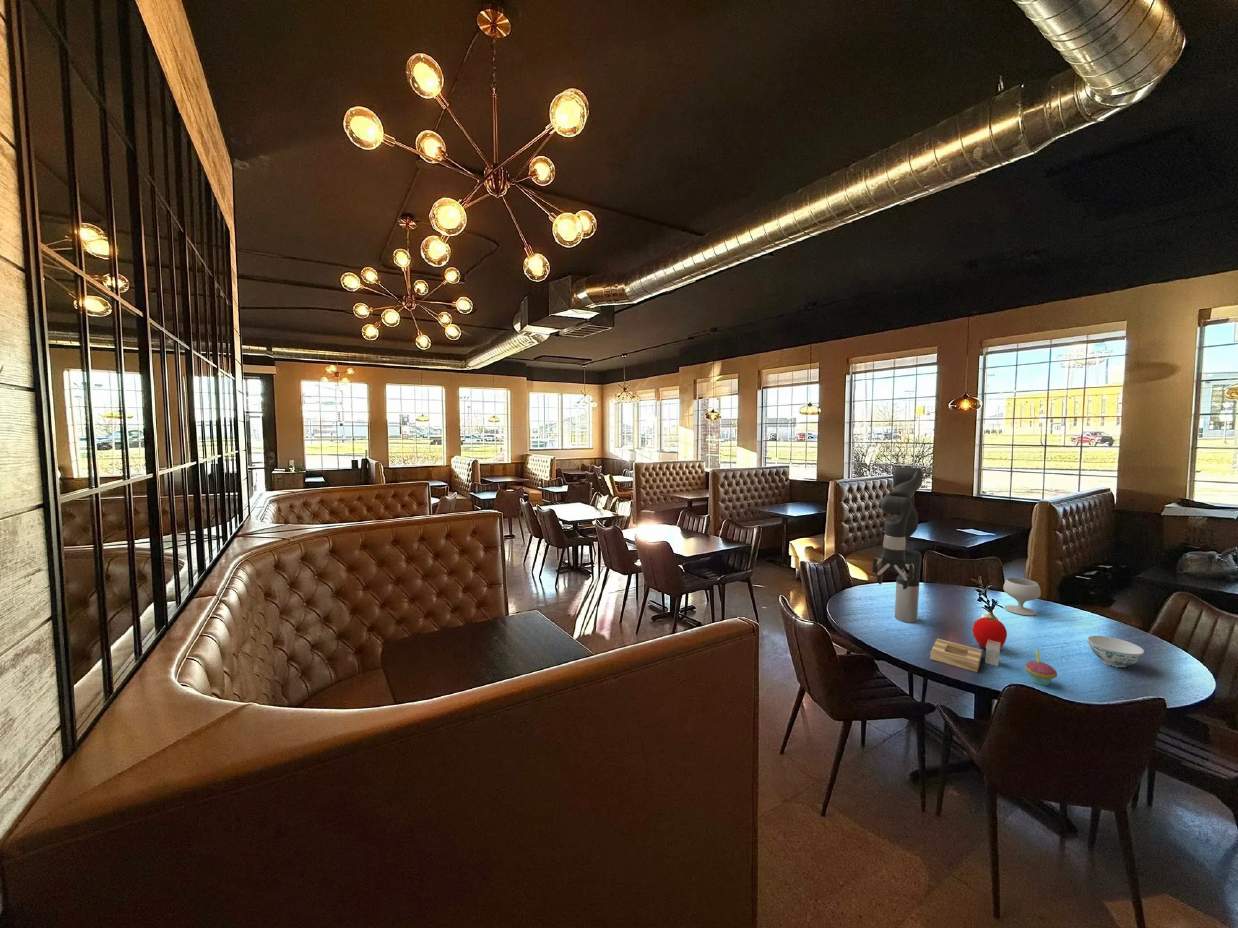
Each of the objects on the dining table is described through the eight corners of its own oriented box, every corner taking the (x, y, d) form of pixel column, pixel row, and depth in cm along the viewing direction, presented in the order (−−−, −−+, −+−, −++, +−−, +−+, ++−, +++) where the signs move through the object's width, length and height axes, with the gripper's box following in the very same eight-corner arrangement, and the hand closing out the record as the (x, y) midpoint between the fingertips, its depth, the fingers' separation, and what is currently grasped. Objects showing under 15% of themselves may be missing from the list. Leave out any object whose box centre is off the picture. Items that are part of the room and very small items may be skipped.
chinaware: (1083, 650, 195) (1085, 632, 194) (1137, 661, 185) (1139, 642, 185) (1088, 664, 183) (1090, 645, 183) (1145, 678, 174) (1148, 658, 173)
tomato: (991, 655, 190) (994, 625, 189) (965, 643, 201) (967, 614, 200) (1012, 652, 193) (1015, 621, 192) (986, 640, 204) (988, 611, 203)
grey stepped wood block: (986, 657, 189) (987, 639, 189) (999, 660, 187) (1000, 642, 186) (984, 664, 184) (986, 645, 183) (997, 667, 181) (999, 648, 181)
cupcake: (1017, 676, 176) (1020, 644, 174) (1039, 675, 176) (1041, 643, 175) (1040, 689, 167) (1043, 656, 166) (1062, 688, 168) (1065, 655, 167)
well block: (936, 645, 200) (937, 638, 199) (981, 657, 190) (982, 649, 189) (930, 658, 188) (930, 651, 188) (977, 672, 178) (977, 664, 178)
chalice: (1035, 609, 236) (1038, 580, 235) (1041, 619, 224) (1044, 588, 223) (1000, 603, 244) (1002, 575, 242) (1003, 613, 232) (1006, 583, 230)
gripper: (917, 547, 186) (914, 588, 187) (876, 541, 195) (875, 579, 197) (912, 552, 180) (910, 593, 182) (871, 545, 190) (869, 584, 191)
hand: (892, 586), depth 189 cm, fingers open, 8 cm apart
